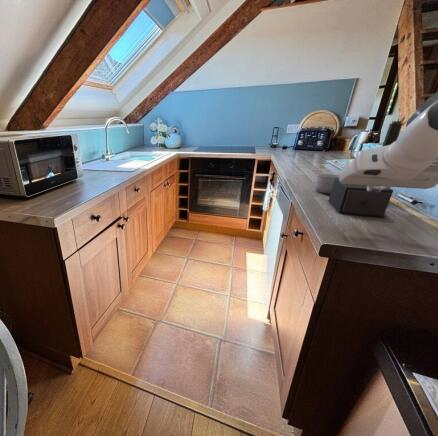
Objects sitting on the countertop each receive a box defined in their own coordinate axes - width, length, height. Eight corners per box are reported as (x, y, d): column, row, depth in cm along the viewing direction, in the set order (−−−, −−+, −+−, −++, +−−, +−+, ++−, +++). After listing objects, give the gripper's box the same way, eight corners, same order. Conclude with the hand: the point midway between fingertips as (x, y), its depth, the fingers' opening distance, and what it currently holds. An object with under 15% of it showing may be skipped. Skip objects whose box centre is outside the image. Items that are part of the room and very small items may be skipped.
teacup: (310, 192, 110) (314, 175, 107) (315, 187, 118) (319, 171, 115) (348, 198, 102) (354, 180, 98) (351, 193, 109) (357, 175, 106)
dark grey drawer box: (383, 217, 83) (393, 190, 79) (338, 212, 87) (346, 187, 84) (366, 204, 95) (375, 180, 92) (328, 200, 100) (334, 177, 96)
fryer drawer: (385, 217, 81) (393, 194, 78) (343, 213, 85) (350, 191, 82) (367, 203, 93) (374, 183, 90) (332, 200, 97) (337, 181, 94)
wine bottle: (356, 194, 107) (380, 121, 95) (382, 197, 102) (410, 121, 91) (357, 199, 101) (383, 121, 89) (384, 202, 96) (415, 121, 85)
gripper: (458, 152, 57) (418, 183, 69) (351, 150, 65) (332, 178, 77) (462, 175, 55) (420, 202, 67) (352, 170, 63) (332, 195, 75)
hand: (372, 189), depth 72 cm, fingers closed
